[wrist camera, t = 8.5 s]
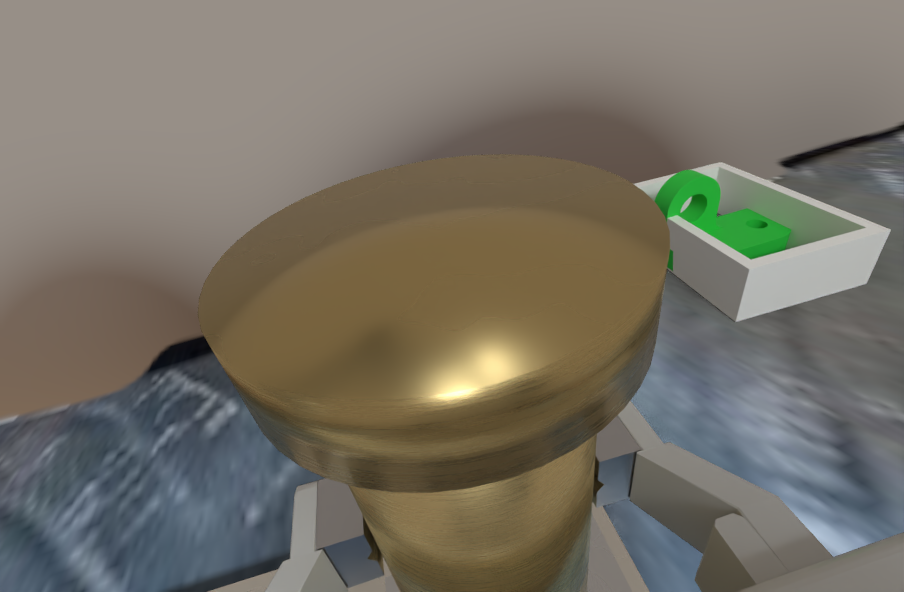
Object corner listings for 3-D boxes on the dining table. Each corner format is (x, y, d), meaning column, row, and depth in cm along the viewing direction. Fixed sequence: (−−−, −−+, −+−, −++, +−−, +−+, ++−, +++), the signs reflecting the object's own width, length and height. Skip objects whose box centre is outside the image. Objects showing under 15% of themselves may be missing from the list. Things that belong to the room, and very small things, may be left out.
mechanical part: (689, 283, 40) (705, 200, 36) (648, 253, 45) (656, 177, 40) (801, 248, 42) (830, 165, 37) (749, 223, 47) (769, 147, 42)
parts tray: (735, 322, 36) (749, 269, 33) (616, 229, 50) (619, 187, 47) (866, 283, 37) (890, 229, 34) (712, 204, 51) (720, 162, 49)
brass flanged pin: (438, 807, 13) (112, 486, 4) (406, 572, 18) (241, 200, 9) (645, 728, 13) (816, 289, 4) (555, 524, 19) (547, 133, 9)
